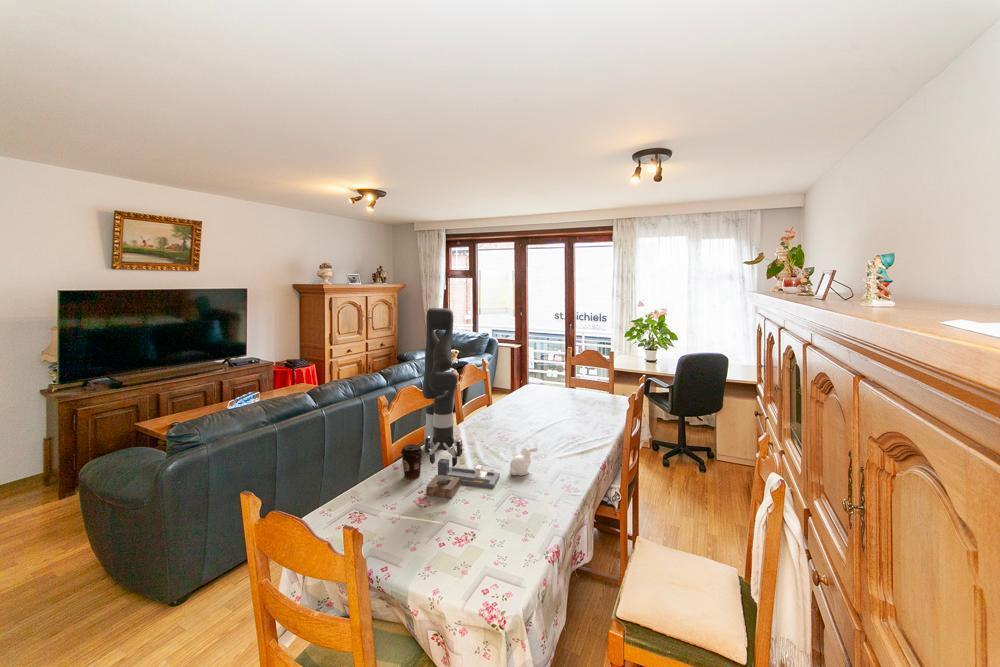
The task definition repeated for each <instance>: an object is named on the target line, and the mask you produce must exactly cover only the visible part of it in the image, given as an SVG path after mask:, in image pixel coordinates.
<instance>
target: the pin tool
mask: <svg viewBox="0 0 1000 667" xmlns="http://www.w3.org/2000/svg"><path fill="white" fill-rule="evenodd" d="M449 467H450V459H447V458H440V459H439V461H437V475H439V484H440V485H448V484H449Z"/></svg>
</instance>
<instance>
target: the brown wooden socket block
mask: <svg viewBox="0 0 1000 667" xmlns="http://www.w3.org/2000/svg"><path fill="white" fill-rule="evenodd" d="M460 487H461V484H460V478H459V477H451V476H449V484H448V485H440V484H439V475H438V474H436V475H434V477H433V478H432V479H431V480H430V482H428V484H427V485H426V487H425V489H426V490H425V491H426V492H425V493H426V496H429V497H437V498H443V499H449V500H450V499H451V500H452V499H453V498H454V496H455V494H456V493H457V492H458V490H459V489H460Z"/></svg>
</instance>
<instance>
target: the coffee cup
mask: <svg viewBox="0 0 1000 667" xmlns="http://www.w3.org/2000/svg"><path fill="white" fill-rule="evenodd" d="M423 453H424V452H423V449H422V447H421V445H418V444H411V443H410V444H406V445H404V446H403V447H402V450H400V454H402V457H401V459H402V469H403V472H404V474H403V475H404V479H406V480H411V481H412V480H417V479H418V478H420V477H421V468H422V466H421V465H422V456H423V455H422V454H423Z"/></svg>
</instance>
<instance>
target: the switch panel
mask: <svg viewBox="0 0 1000 667" xmlns="http://www.w3.org/2000/svg"><path fill="white" fill-rule="evenodd" d="M482 471H483V472H487V476H486V478H480V477H475V468H466V467H458V466H455V467H452V466H449V476H451V477H459V478H460V485H468V486H476V487H483V488H489V489H494V488H495V486H496V485H497V482H498V481H499V479H500V476H501V474H500V472H495V471H491V470H483V469H482Z"/></svg>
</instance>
